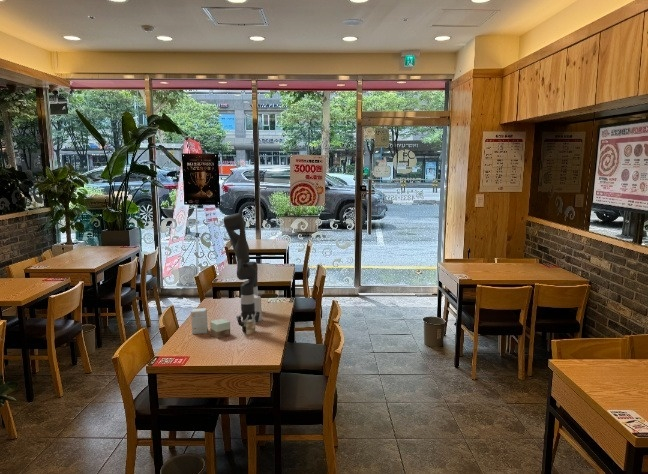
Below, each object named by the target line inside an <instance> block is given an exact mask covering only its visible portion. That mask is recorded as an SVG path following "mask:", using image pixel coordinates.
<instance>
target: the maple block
mask: <svg viewBox="0 0 648 474" xmlns="http://www.w3.org/2000/svg"><path fill="white" fill-rule="evenodd" d="M242 333H243V334H245V335H251V334H255V333H256V324H255V322H253V321H251V320H249V321H247V323H246V333H244V332H243V331H242Z"/></svg>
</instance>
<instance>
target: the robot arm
mask: <svg viewBox="0 0 648 474" xmlns="http://www.w3.org/2000/svg"><path fill="white" fill-rule="evenodd" d="M223 225H224V228H225V230H226V233H227V235H228V237H229V239H230V243H231V247H232V249H233V252H234V254H235V258H236V266H237V267H236V277H237V278H238V280H239V281H243V283H242V284H241V285H240V311H241V313H240V314H239V315H236V321H237V324H238V326H240V327H241V329H242V333H243V332H244V333H243V334H245V333H246V323H247V320H251V321H253V322H255V325H256V324H257V323H259V321H258V320H259V314H260V312H258V311H256V312H255V302H254V295H257V296H259V289H258V282H259V281H258V271H259V270H258V262H257V261H251V260H250V255H249V252H250V247H249V243H248V241H247V234H246V227H245V221H244V218H243V216H242V213H240V212H238V213H233V214H228V215H226V216H223ZM238 230H239V233H237V232H236V231H238ZM244 280H245V281H244ZM254 315H255V319H254Z"/></svg>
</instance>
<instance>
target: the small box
mask: <svg viewBox="0 0 648 474" xmlns="http://www.w3.org/2000/svg"><path fill="white" fill-rule="evenodd" d="M207 312H208V310H207V307H203V308H202V307H201V308H192V309H191V311H190V318H191V319H190V320H191V333H192V335H198V334H200V335H201V334H207V333H208V329H209V327H208V313H207Z"/></svg>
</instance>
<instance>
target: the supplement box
mask: <svg viewBox="0 0 648 474" xmlns="http://www.w3.org/2000/svg"><path fill="white" fill-rule="evenodd" d="M254 302H255V312H256V311H258V312H260V314H259V320H258V322H262V321H263V319H262V318H263V315H262V311H263V310H262V297H261V296H260V295H258V296H257V295H254ZM254 319H255V315H254ZM247 321H249V320H247Z"/></svg>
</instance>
